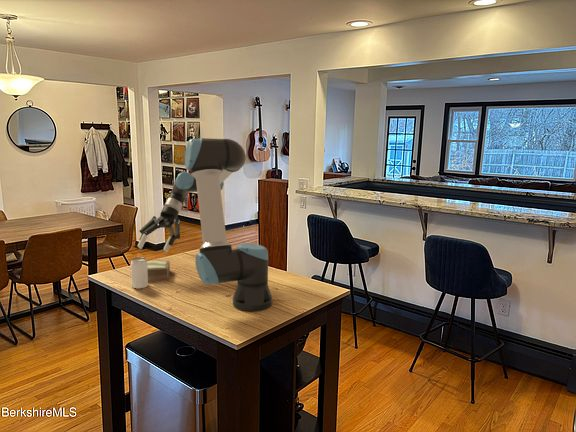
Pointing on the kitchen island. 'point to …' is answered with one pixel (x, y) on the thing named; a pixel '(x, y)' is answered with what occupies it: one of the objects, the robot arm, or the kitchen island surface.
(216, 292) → the kitchen island surface
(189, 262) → the kitchen island surface
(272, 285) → the kitchen island surface
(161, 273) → the plinth
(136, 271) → the can
